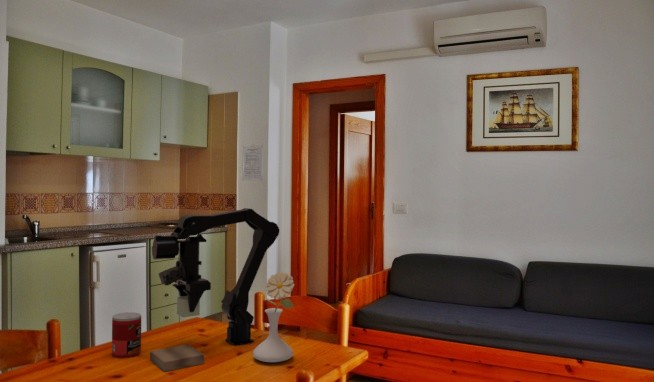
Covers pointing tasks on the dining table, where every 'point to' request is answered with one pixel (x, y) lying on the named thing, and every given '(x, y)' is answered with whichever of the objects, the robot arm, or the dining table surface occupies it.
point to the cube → (186, 307)
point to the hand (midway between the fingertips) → (188, 310)
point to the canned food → (126, 334)
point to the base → (176, 357)
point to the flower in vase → (276, 320)
